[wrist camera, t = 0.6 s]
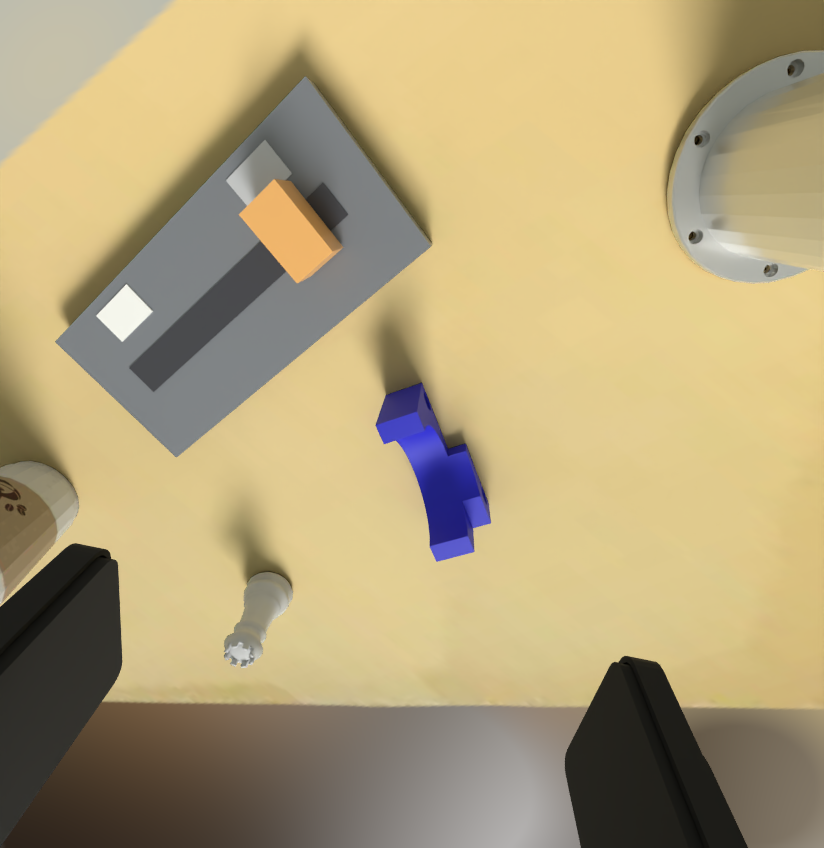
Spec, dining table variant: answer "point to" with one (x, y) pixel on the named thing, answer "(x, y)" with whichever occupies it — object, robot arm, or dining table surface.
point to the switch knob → (291, 229)
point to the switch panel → (242, 278)
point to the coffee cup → (31, 517)
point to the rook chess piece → (257, 616)
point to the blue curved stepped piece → (436, 472)
